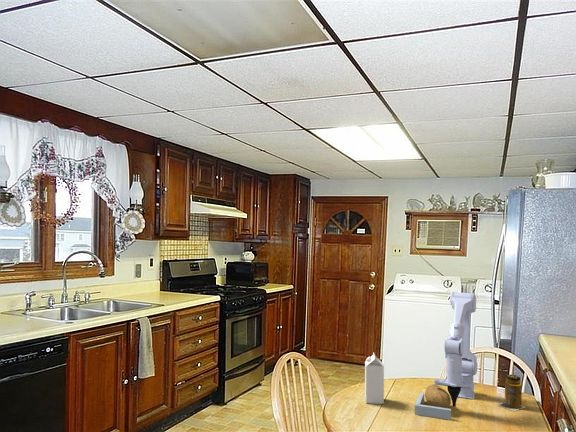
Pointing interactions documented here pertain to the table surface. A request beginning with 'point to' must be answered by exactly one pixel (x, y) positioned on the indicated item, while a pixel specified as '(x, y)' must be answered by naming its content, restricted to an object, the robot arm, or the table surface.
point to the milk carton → (374, 380)
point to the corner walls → (431, 409)
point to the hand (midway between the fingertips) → (454, 405)
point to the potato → (437, 396)
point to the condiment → (513, 393)
